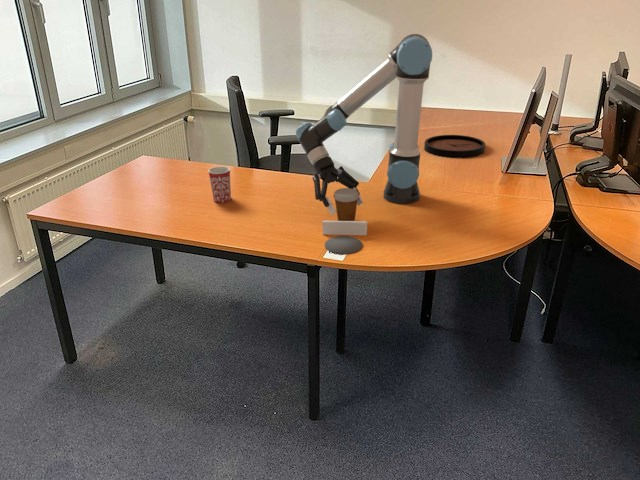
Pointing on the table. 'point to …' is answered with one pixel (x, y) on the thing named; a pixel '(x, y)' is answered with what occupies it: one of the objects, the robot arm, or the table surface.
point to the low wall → (344, 227)
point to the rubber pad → (343, 245)
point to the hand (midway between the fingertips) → (347, 208)
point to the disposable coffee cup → (346, 203)
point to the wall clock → (454, 146)
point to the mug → (220, 183)
